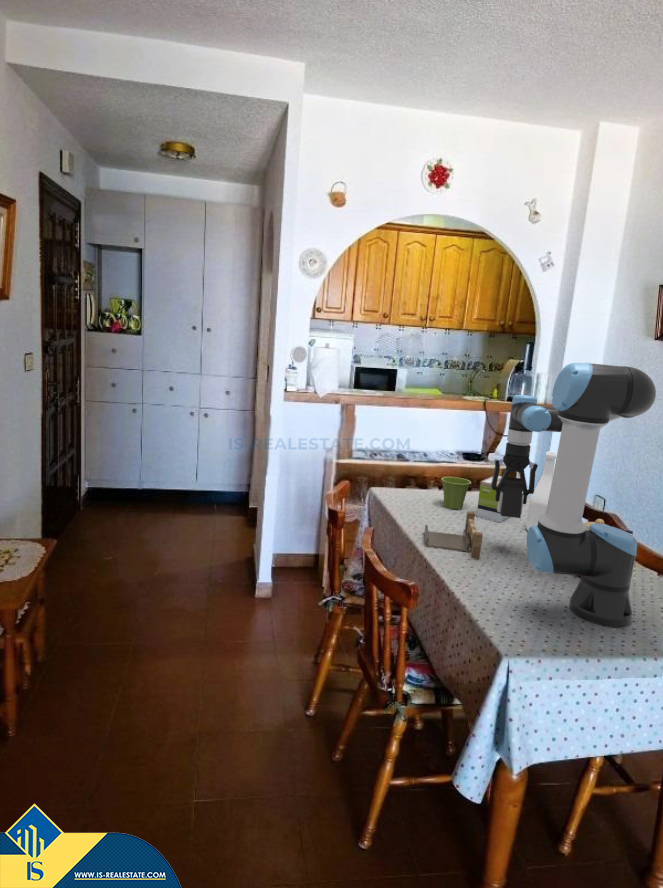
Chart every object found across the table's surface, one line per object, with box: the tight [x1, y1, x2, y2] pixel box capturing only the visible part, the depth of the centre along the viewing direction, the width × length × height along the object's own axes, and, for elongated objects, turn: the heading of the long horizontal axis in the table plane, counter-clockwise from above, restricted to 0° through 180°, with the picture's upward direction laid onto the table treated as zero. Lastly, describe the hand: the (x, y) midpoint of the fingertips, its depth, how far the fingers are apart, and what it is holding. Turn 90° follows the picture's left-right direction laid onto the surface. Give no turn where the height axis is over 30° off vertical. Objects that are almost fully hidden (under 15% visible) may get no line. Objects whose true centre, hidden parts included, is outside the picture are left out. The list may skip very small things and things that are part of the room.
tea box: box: [476, 475, 509, 523], centre depth 240 cm, size 15×10×15 cm
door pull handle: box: [464, 511, 483, 560], centre depth 205 cm, size 25×2×8 cm, turn 173°
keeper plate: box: [424, 524, 470, 553], centre depth 206 cm, size 14×14×3 cm
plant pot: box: [441, 476, 472, 510], centre depth 248 cm, size 12×12×11 cm
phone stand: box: [500, 476, 524, 519], centre depth 201 cm, size 9×6×12 cm, turn 172°
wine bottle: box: [525, 450, 557, 531], centre depth 223 cm, size 10×10×30 cm
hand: (509, 512), depth 202 cm, fingers closed on phone stand, 6 cm apart
